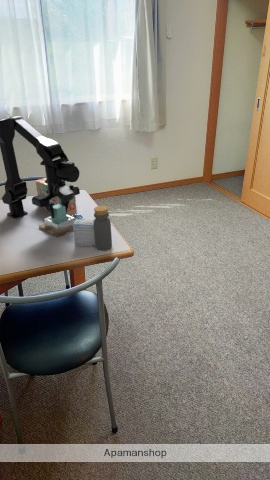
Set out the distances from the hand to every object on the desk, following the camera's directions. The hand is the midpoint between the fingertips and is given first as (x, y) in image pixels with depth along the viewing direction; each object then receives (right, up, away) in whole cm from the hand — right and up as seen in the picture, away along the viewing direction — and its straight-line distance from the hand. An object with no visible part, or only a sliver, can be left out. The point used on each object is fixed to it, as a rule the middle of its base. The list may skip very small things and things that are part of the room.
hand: (59, 215), depth 139 cm
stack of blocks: (-5, +4, +18) cm, 19 cm away
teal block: (0, -4, +2) cm, 4 cm away
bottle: (+19, -12, -13) cm, 26 cm away
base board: (0, -4, +2) cm, 5 cm away
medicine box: (+12, -11, -10) cm, 19 cm away
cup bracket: (0, -4, +2) cm, 5 cm away
